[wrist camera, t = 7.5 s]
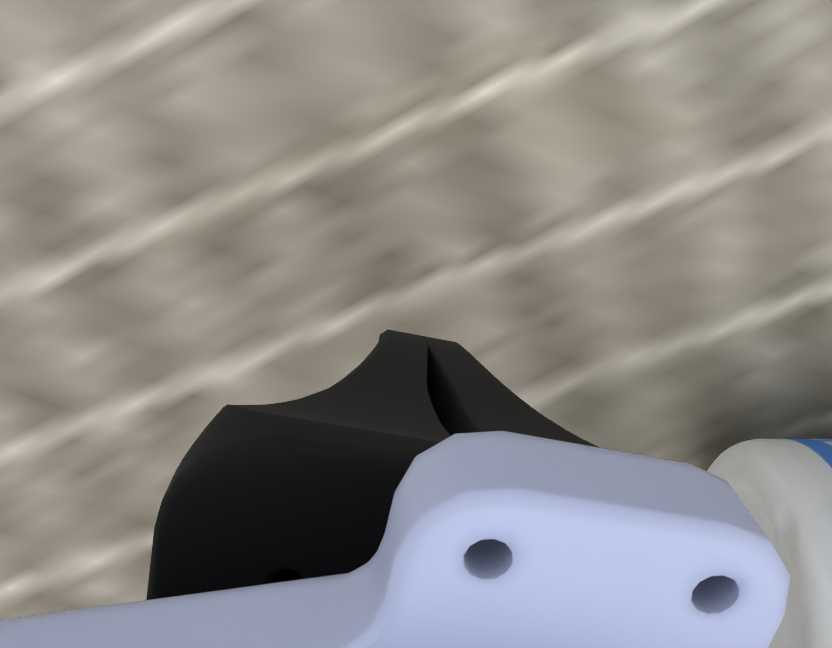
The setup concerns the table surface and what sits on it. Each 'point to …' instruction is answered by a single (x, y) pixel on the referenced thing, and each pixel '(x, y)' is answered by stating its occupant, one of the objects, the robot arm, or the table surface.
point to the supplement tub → (791, 524)
